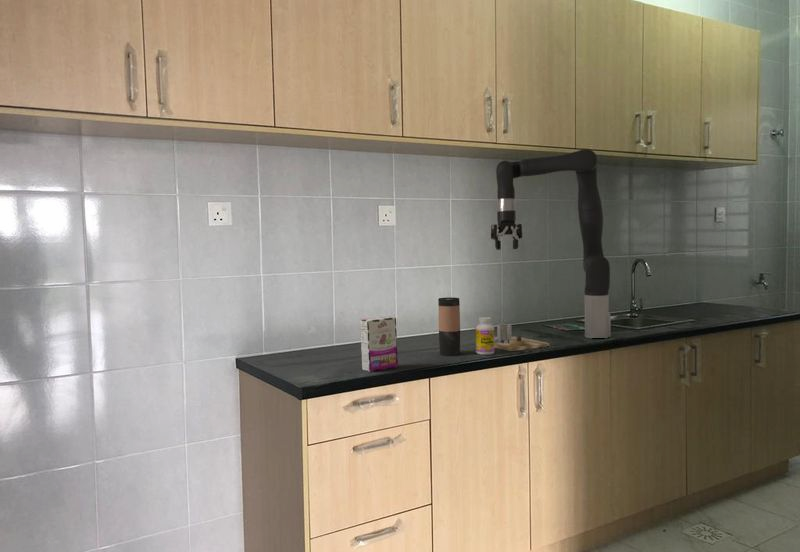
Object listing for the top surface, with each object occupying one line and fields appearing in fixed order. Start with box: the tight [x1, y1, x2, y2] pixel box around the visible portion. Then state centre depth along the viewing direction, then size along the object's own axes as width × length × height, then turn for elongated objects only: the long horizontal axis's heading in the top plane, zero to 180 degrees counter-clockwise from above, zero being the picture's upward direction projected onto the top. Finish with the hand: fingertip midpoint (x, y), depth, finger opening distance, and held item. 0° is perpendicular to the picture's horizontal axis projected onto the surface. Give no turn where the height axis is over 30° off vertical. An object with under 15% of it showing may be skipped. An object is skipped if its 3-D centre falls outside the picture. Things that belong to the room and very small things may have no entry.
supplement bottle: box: [474, 316, 495, 356], centre depth 227 cm, size 7×7×13 cm
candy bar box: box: [359, 315, 399, 373], centre depth 205 cm, size 11×5×16 cm, turn 126°
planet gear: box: [494, 323, 517, 344], centre depth 245 cm, size 10×10×6 cm
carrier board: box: [494, 334, 550, 352], centre depth 244 cm, size 18×21×6 cm
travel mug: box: [437, 296, 461, 357], centre depth 227 cm, size 8×8×20 cm
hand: (506, 249), depth 264 cm, fingers open, 8 cm apart
